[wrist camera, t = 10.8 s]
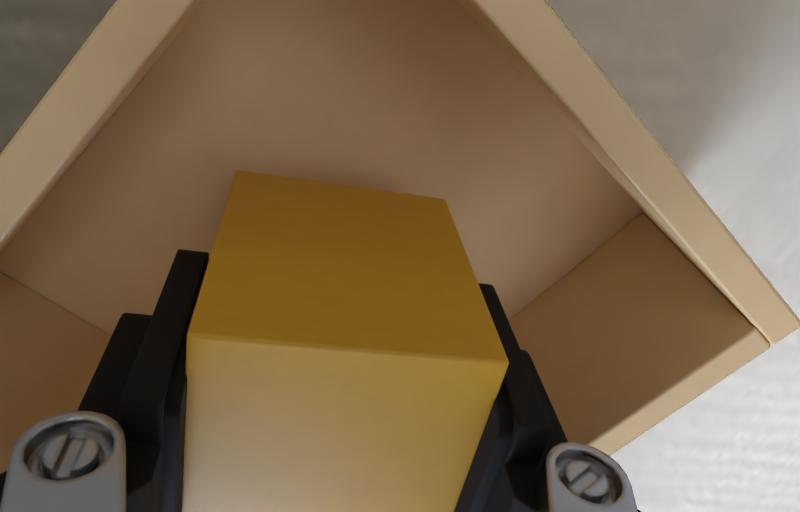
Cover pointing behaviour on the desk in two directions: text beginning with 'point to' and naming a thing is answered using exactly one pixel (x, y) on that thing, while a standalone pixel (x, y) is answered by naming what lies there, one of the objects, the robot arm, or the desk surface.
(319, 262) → the mustard box
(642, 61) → the desk surface
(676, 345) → the sand bin
